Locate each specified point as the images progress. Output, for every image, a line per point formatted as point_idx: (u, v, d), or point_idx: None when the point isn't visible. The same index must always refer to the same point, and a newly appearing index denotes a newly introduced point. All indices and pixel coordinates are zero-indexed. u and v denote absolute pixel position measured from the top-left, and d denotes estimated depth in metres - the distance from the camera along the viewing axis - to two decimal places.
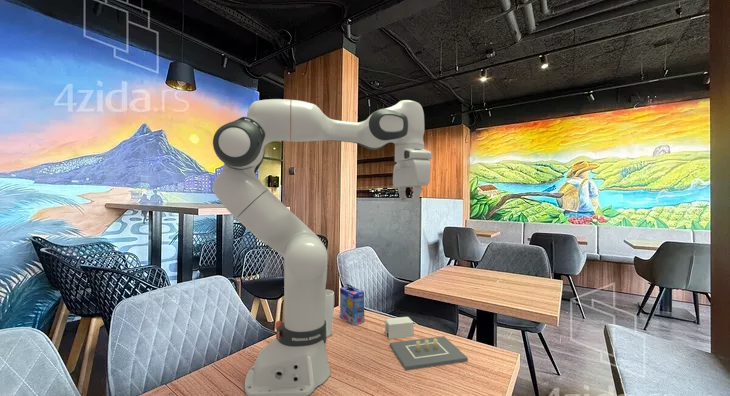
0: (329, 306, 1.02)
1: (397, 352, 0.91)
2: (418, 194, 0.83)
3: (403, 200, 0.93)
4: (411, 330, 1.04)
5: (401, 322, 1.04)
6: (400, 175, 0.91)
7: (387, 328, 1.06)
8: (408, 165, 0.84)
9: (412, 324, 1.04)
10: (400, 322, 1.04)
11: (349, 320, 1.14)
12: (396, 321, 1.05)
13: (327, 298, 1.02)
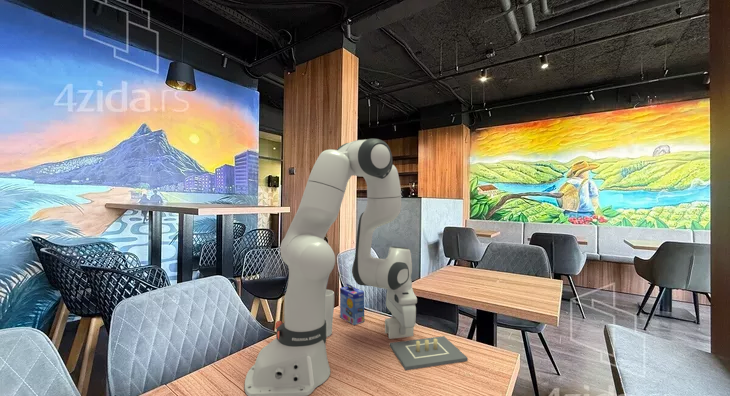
0: (329, 306, 1.02)
1: (397, 352, 0.91)
2: (404, 328, 1.01)
3: None
4: (411, 330, 1.04)
5: None
6: (392, 304, 1.07)
7: (387, 328, 1.06)
8: None
9: None
10: None
11: (349, 320, 1.14)
12: (396, 321, 1.05)
13: (327, 298, 1.02)
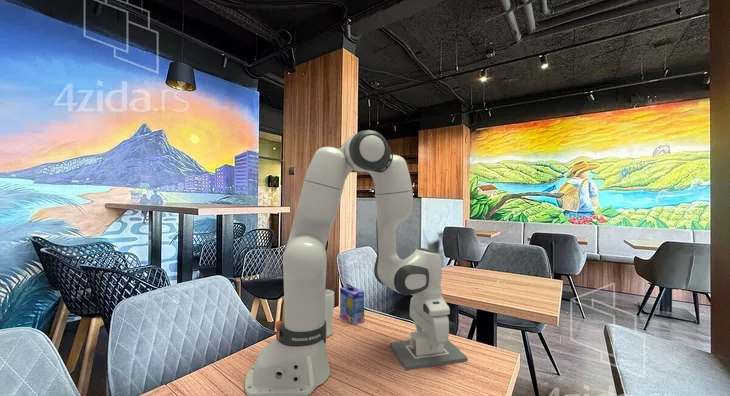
0: (329, 306, 1.02)
1: (397, 352, 0.91)
2: (436, 345, 0.87)
3: None
4: (441, 345, 0.91)
5: None
6: (418, 314, 0.95)
7: (413, 343, 0.93)
8: (427, 316, 0.88)
9: None
10: (429, 336, 0.91)
11: (349, 320, 1.14)
12: (424, 335, 0.92)
13: (327, 298, 1.02)
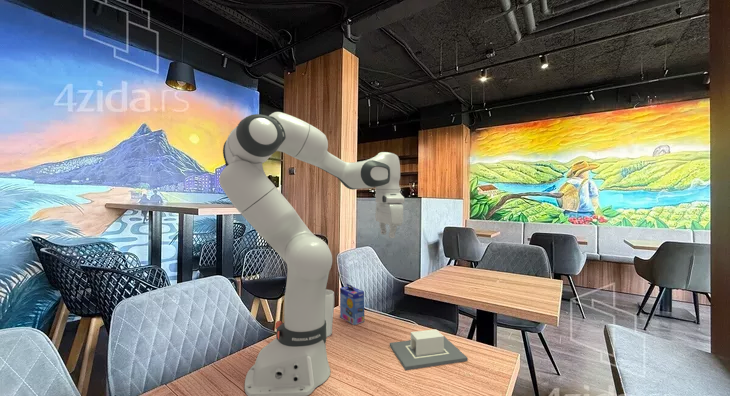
0: (329, 306, 1.02)
1: (397, 352, 0.91)
2: (394, 231, 1.00)
3: (383, 233, 1.10)
4: (441, 345, 0.91)
5: (430, 336, 0.91)
6: (380, 213, 1.08)
7: (413, 343, 0.93)
8: (386, 207, 1.01)
9: (442, 339, 0.91)
10: (429, 336, 0.91)
11: (349, 320, 1.14)
12: (424, 335, 0.92)
13: (327, 298, 1.02)
